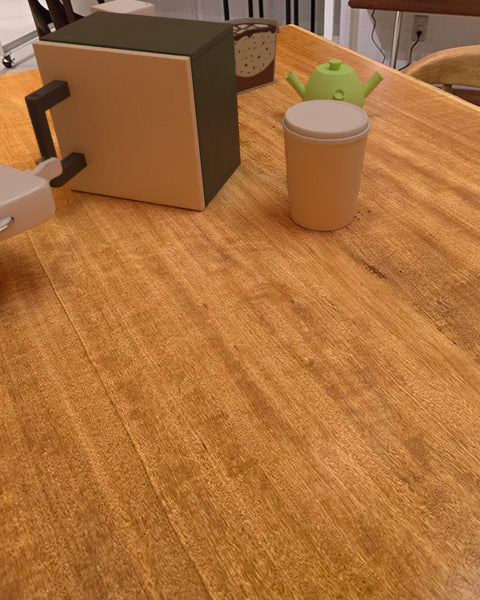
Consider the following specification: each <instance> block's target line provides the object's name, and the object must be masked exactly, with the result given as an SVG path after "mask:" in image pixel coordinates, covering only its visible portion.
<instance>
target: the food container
mask: <svg viewBox="0 0 480 600" xmlns="http://www.w3.org/2000/svg"><path fill="white" fill-rule="evenodd" d="M221 23H231V24H233V31H234V47H235V65H236V84H237V96H238V95H240V94H244V93H248V92H251V91H253V90H257V89H259V88H262V87H266V86H268V85H269V86H270V85H272V84H275V76H276V61H277V47H278V46H277V43H278V34H281V30H280V24H279V21H278V20H277V19H273V18H268V17H267V18H266V17H240V18H233V19H228V20H224V21H222V22H221Z"/></svg>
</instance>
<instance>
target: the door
mask: <svg viewBox="0 0 480 600" xmlns="http://www.w3.org/2000/svg"><path fill="white" fill-rule="evenodd" d="M31 45H32V46H31V47H32V49H33V54H34V56H35V57H34V58H35V60H36V64H37V68H38V73H39V76H40V80H41V83H42V86H40V87H39V88H38V89H36V90H34V91H32V92H30V93H29V94H27V95H26V96H24V103H25V105H26V108H27V112H28V116H29V119H30V123H31V126H32V129H33V134H34V137H35V141H36V144H37V147H38V150H39V154H40V158H42V157H44V156H45V155H48V156H51V157H55V158H58V154H57V151H56V146H55V143H54V139H53V136H52V131H51V128H50V125H49V120H48V118H47V113H46V112H47V111H49V115H50V118H51V121H52V125H53V129H54V133H55V136H56V141H57V144H58V148H59V152H60V156H61V159H60V162H61V166H62V173H61V175H59V176H57V177H55V178H53V179H51V180H50V183H49V185H50V188H51V189H58V188H61V187H63V186H65V185H66V184H67V183H68V187H69V189H70V190H72V191H73V190H74V191H79V192H85V193H91V194H98V195H102V196H109V197H113V198H114V197H115V198H121V199H127V200H133V201H139V202H145V203H151V204H157V205H164V206H170V207H176V208H182V209H189V210H193V211H194V210H195V211H200V212H202V211H203V210H204V209H205V208H206V207H205V201H204V191H203V181H202V172H201V162H200V152H199V142H198V132H197V122H196V113H195V103H194V93H193V83H192V73H191V64H190V57H185V56H176V55H167V54H157V53H148V52H139V51H129V50H120V49H111V48H102V47H92V46H83V45H74V44H65V43H55V42H46V41H39V40H36V41H33V42H32V43H31ZM58 159H59V158H58Z"/></svg>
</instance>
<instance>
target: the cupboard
mask: <svg viewBox="0 0 480 600" xmlns="http://www.w3.org/2000/svg"><path fill="white" fill-rule="evenodd" d="M38 41H46V42H55V43H65V44H74V45H83V46H92V47H102V48H111V49H120V50H129V51H139V52H148V53H157V54H167V55H176V56H185V57H190V64H191V73H192V83H193V93H194V103H195V113H196V122H197V132H198V142H199V152H200V162H201V172H202V181H203V191H204V201H205V208H206V207H208V205H209V204H210V203H211V202H212V200H213V199H214V198H215V196H216V195H217V194H218V193H219V192H220V190H221V189H222V188H223V187H224V185H225V184H226V183H227V182H228V180H229V179H230V178H231V176H232V175H233V174H234V172H236V170H237V169H238V168H239V166H241V164H242V159H241V141H240V123H239V105H238V95H237V84H236V65H235V47H234V31H233V24H231V23H222V22H220V21H219V22H218V21H211V20H210V21H209V20H198V19H189V18H188V19H187V18H177V17H166V16H157V15H156V16H146V15H135V14H125V13H114V12H104V11H97V12H95V13H92V12H91V13H90V14H88V15H86V16H84V17H82V18H79V19H78V20H74V21H73V22H71V23H69V24H66V25H64V26H62V27H60V28H58V29H56V30H54V31H52V32H49V33H47V34H45V35H42V36H41V37H38Z"/></svg>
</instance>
